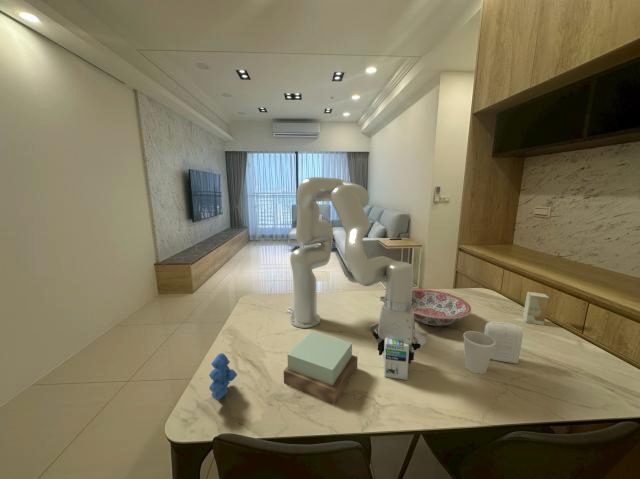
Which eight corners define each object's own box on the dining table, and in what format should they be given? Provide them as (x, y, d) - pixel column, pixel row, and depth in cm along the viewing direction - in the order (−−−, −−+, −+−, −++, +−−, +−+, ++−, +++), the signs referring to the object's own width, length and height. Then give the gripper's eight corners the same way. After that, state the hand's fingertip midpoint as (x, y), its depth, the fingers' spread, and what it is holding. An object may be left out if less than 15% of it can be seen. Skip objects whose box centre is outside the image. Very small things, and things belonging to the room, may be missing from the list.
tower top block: (287, 368, 74) (287, 354, 74) (312, 344, 87) (312, 331, 86) (332, 385, 68) (332, 370, 67) (351, 356, 80) (352, 342, 79)
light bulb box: (407, 380, 75) (410, 346, 73) (383, 377, 77) (385, 343, 75) (403, 358, 86) (405, 327, 84) (382, 355, 87) (384, 325, 85)
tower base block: (284, 384, 74) (283, 370, 74) (312, 354, 88) (312, 342, 87) (334, 406, 67) (334, 390, 66) (357, 369, 81) (357, 356, 80)
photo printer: (515, 357, 86) (520, 322, 84) (520, 365, 82) (526, 329, 80) (479, 351, 89) (483, 317, 87) (483, 359, 85) (487, 324, 83)
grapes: (234, 412, 65) (231, 368, 62) (205, 415, 64) (201, 371, 62) (242, 379, 76) (239, 341, 74) (217, 381, 75) (214, 343, 73)
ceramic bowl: (468, 312, 118) (469, 295, 116) (470, 345, 92) (473, 324, 91) (401, 300, 131) (402, 285, 130) (388, 326, 106) (388, 308, 104)
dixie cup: (474, 356, 86) (477, 328, 84) (498, 373, 78) (502, 342, 77) (454, 362, 83) (457, 333, 82) (477, 379, 76) (480, 348, 74)
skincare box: (525, 322, 108) (529, 295, 106) (522, 318, 112) (526, 291, 110) (545, 325, 106) (549, 297, 104) (540, 321, 110) (545, 293, 108)
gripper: (365, 302, 78) (363, 355, 81) (428, 315, 70) (423, 373, 73) (373, 293, 85) (371, 343, 88) (431, 304, 76) (427, 359, 79)
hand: (395, 356), depth 80 cm, fingers closed on light bulb box, 8 cm apart
